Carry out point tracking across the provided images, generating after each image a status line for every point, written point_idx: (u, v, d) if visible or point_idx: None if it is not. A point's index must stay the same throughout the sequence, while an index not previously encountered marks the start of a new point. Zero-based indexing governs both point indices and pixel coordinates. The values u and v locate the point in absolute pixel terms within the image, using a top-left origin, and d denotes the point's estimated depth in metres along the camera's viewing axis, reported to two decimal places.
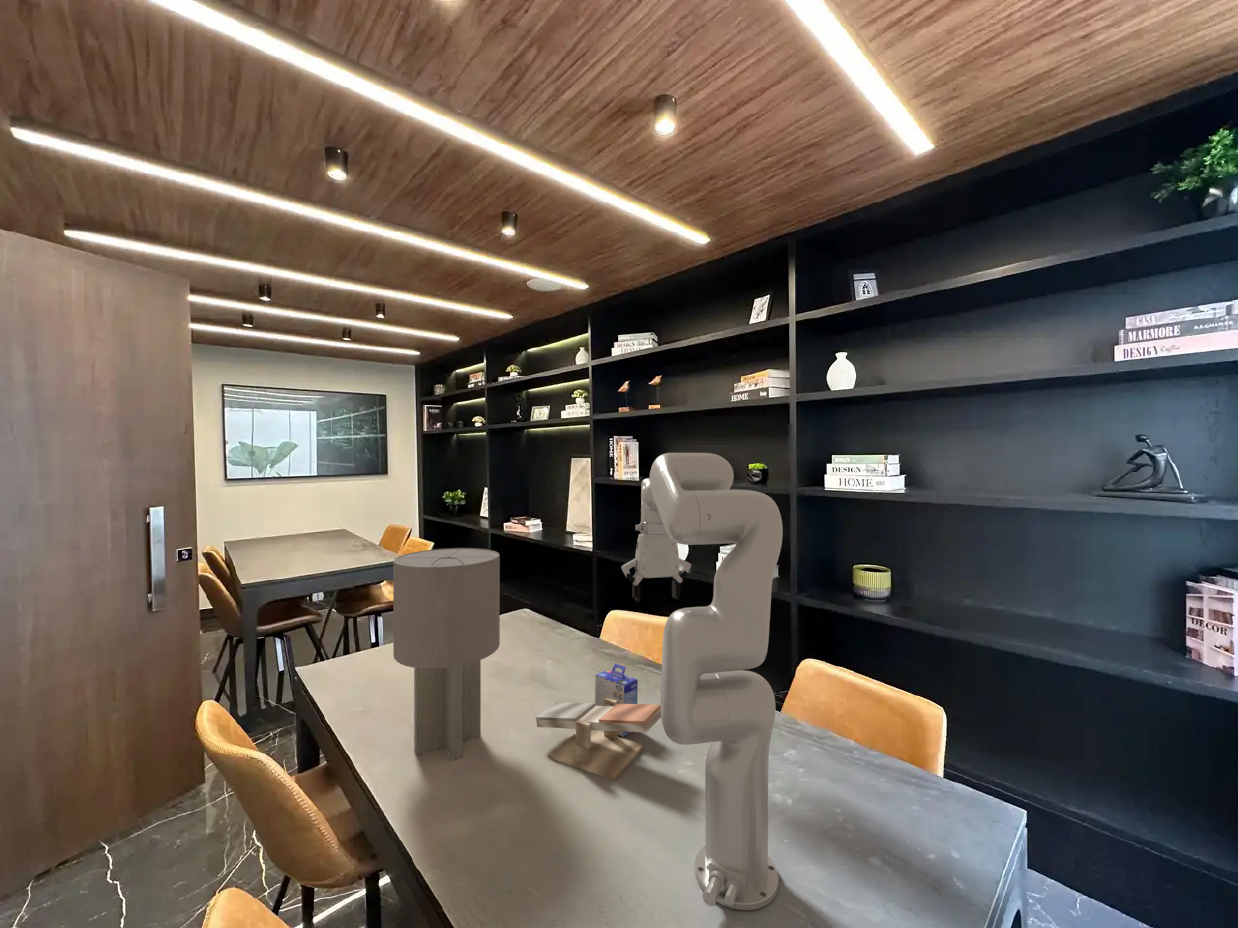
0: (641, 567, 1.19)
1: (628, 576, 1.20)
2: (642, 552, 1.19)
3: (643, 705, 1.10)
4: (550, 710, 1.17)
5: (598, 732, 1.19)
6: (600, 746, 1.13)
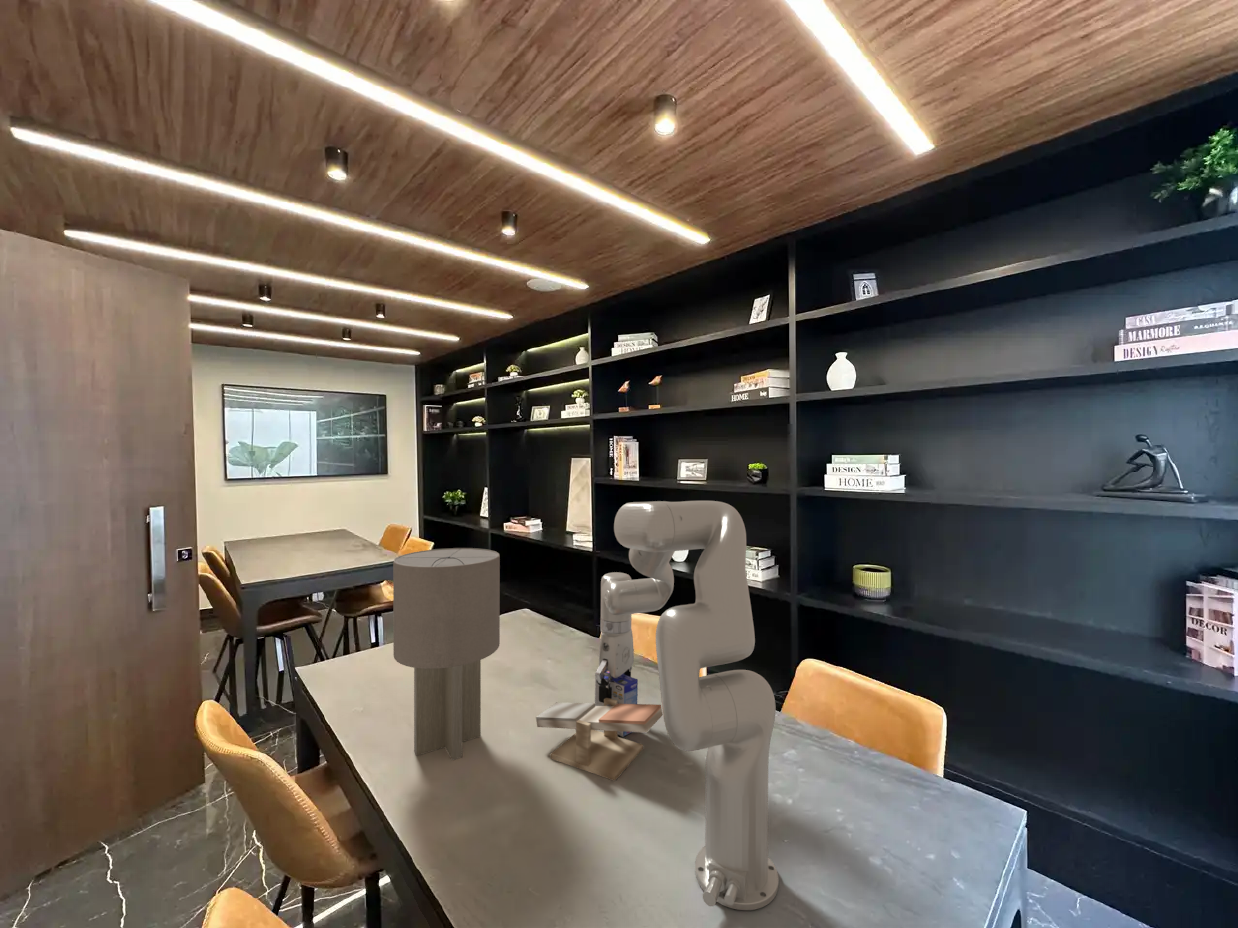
0: (615, 668, 1.19)
1: (603, 681, 1.17)
2: (616, 653, 1.19)
3: (643, 705, 1.10)
4: (550, 710, 1.17)
5: (598, 732, 1.19)
6: (600, 746, 1.13)
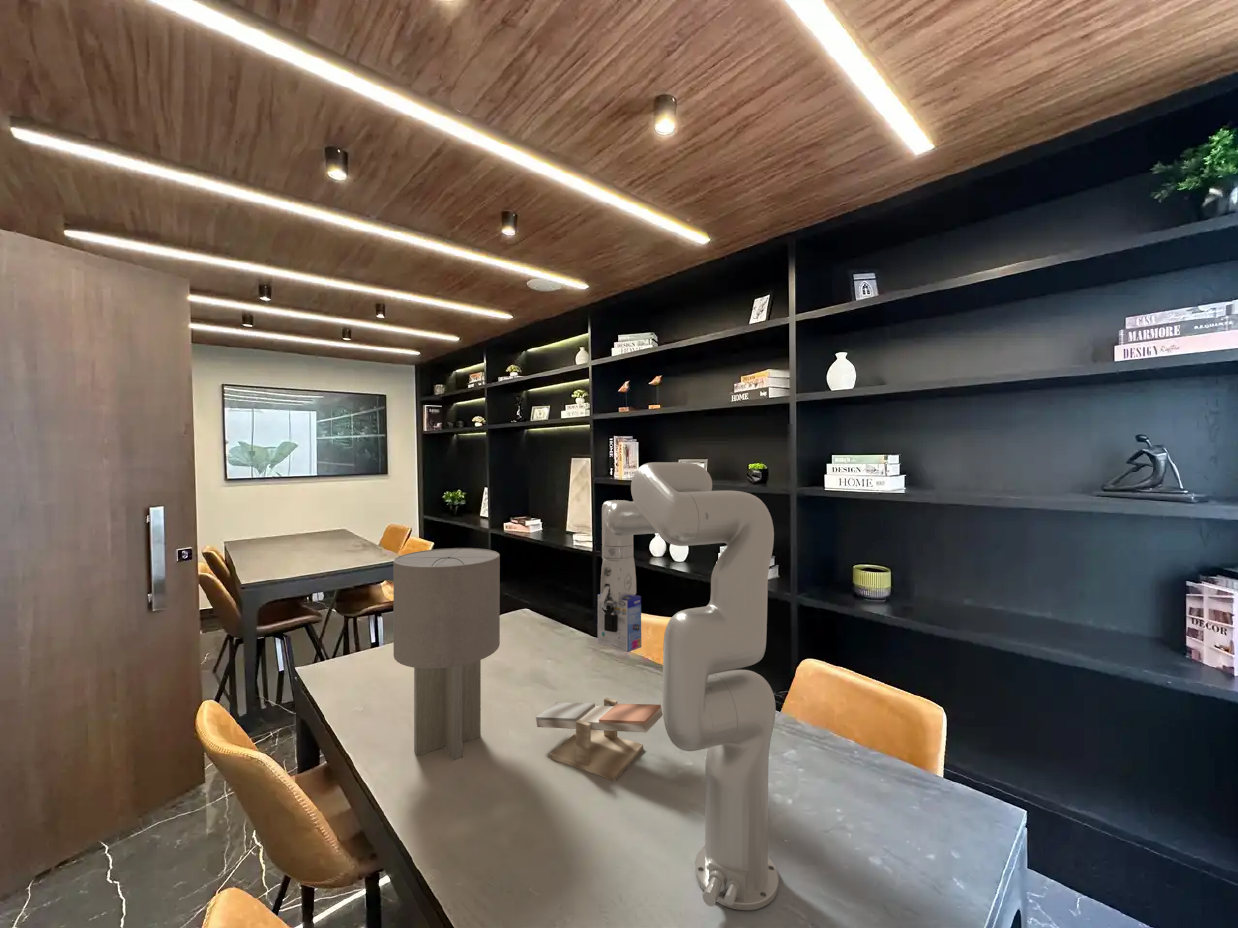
0: (618, 593, 1.16)
1: (609, 607, 1.16)
2: (618, 577, 1.17)
3: (643, 705, 1.10)
4: (550, 710, 1.17)
5: (598, 732, 1.19)
6: (600, 746, 1.13)
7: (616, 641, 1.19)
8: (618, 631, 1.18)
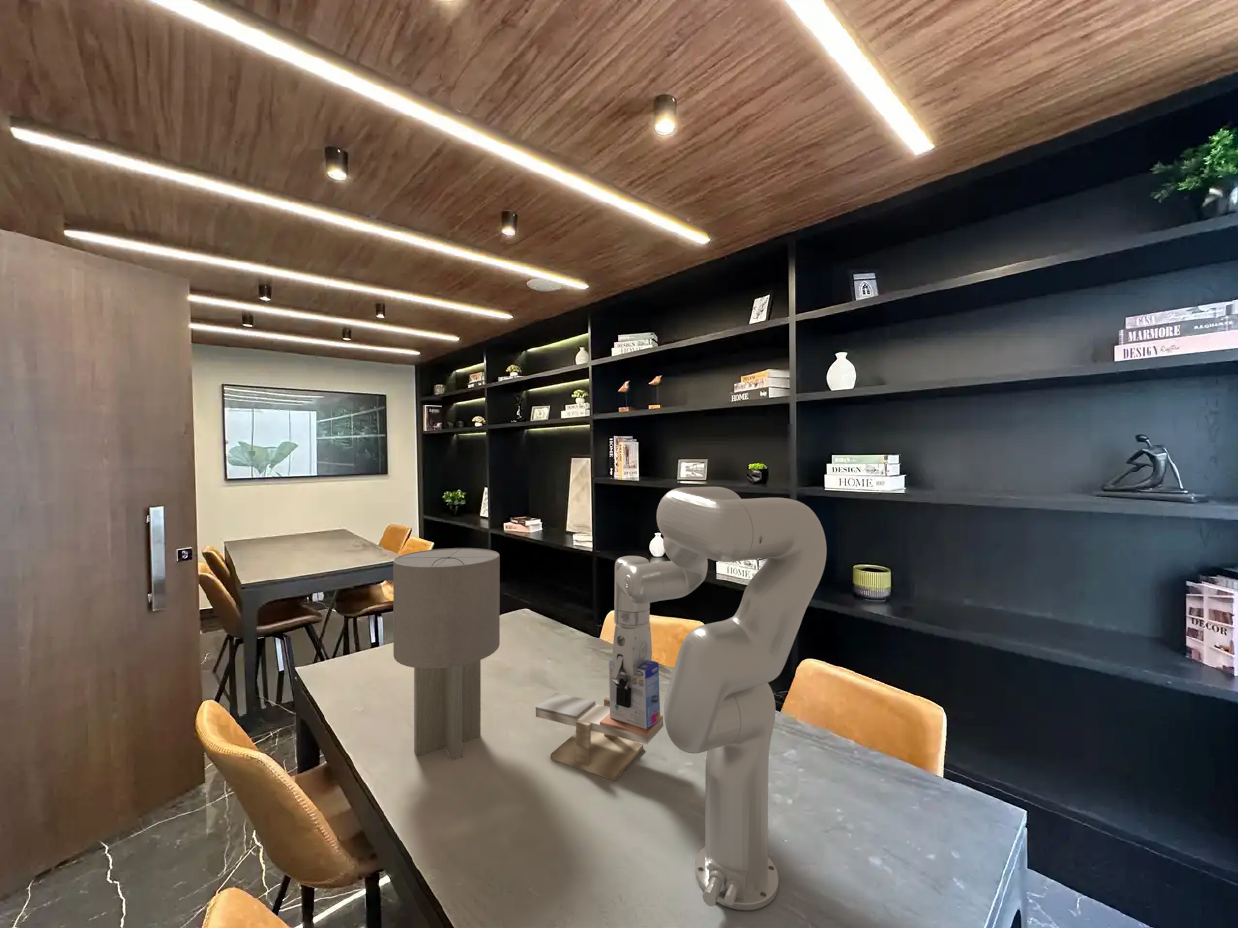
0: (632, 665, 1.03)
1: (622, 682, 1.03)
2: (632, 648, 1.03)
3: None
4: (550, 701, 1.17)
5: (598, 732, 1.19)
6: (600, 746, 1.13)
7: (632, 716, 1.05)
8: (634, 704, 1.05)
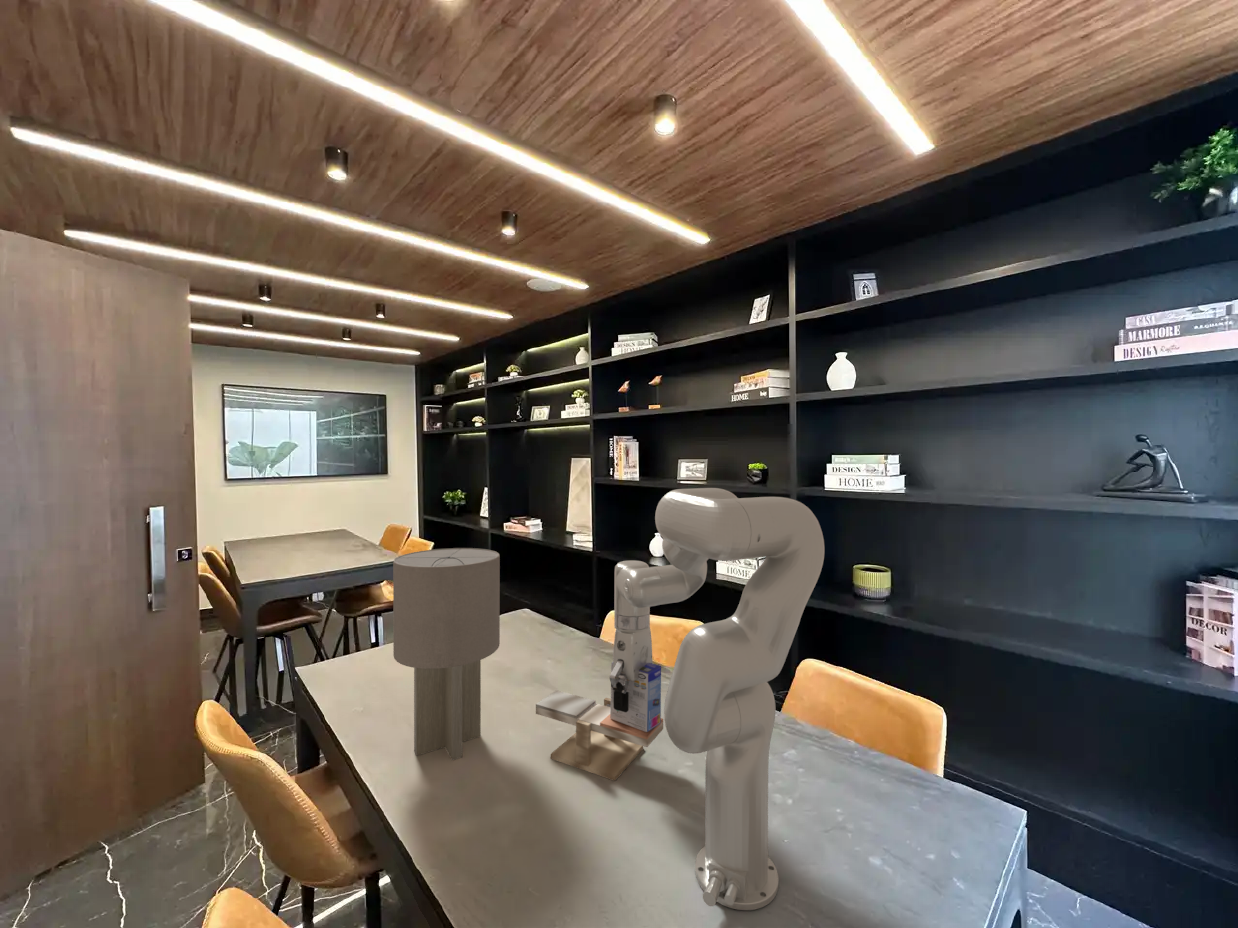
0: (633, 670, 1.03)
1: (619, 685, 1.01)
2: (633, 653, 1.03)
3: None
4: (551, 699, 1.17)
5: None
6: (600, 746, 1.13)
7: (633, 718, 1.05)
8: (635, 707, 1.05)
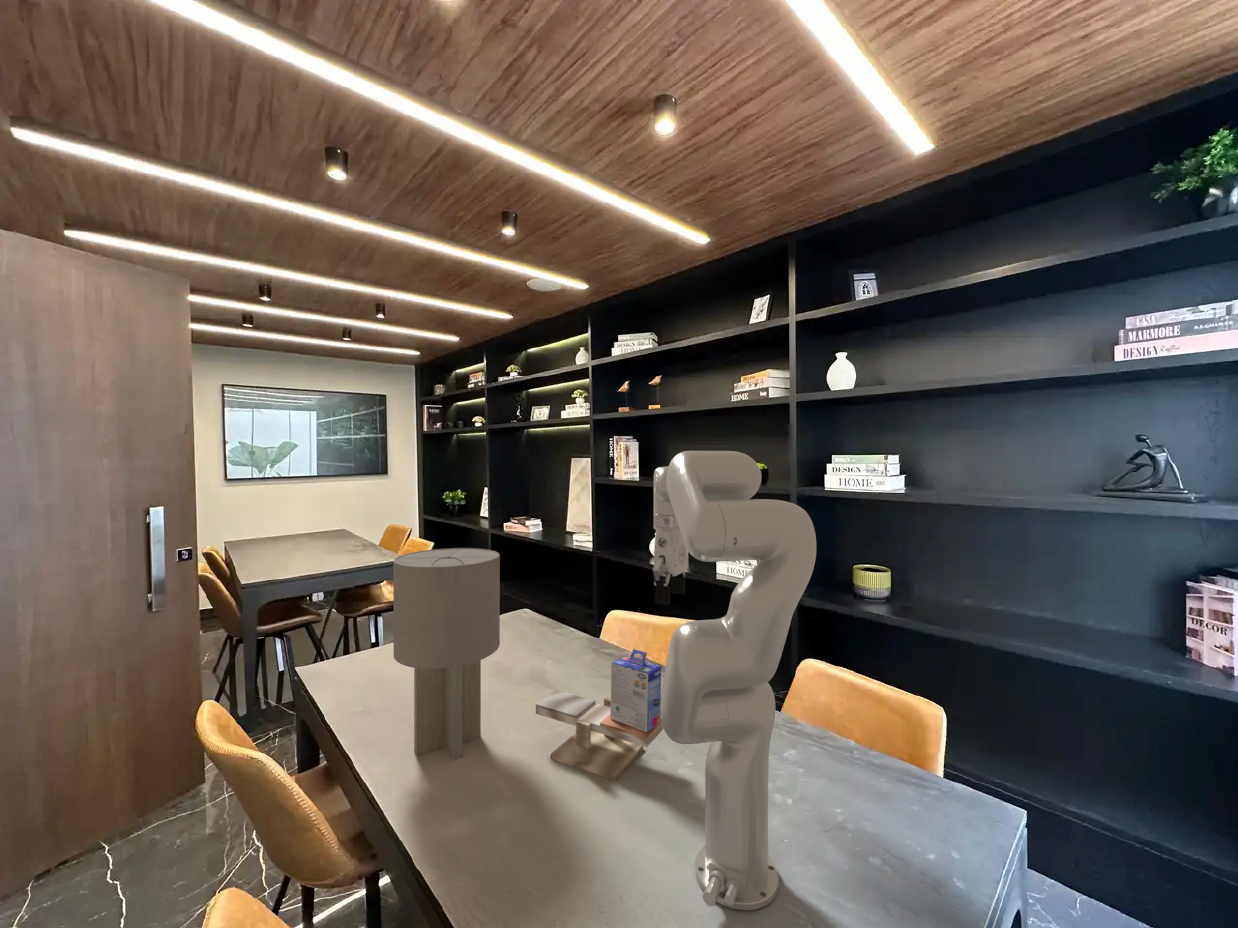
0: (674, 565, 1.08)
1: (662, 578, 1.06)
2: (674, 548, 1.08)
3: None
4: (551, 699, 1.17)
5: None
6: (600, 746, 1.13)
7: (633, 718, 1.05)
8: (635, 707, 1.05)
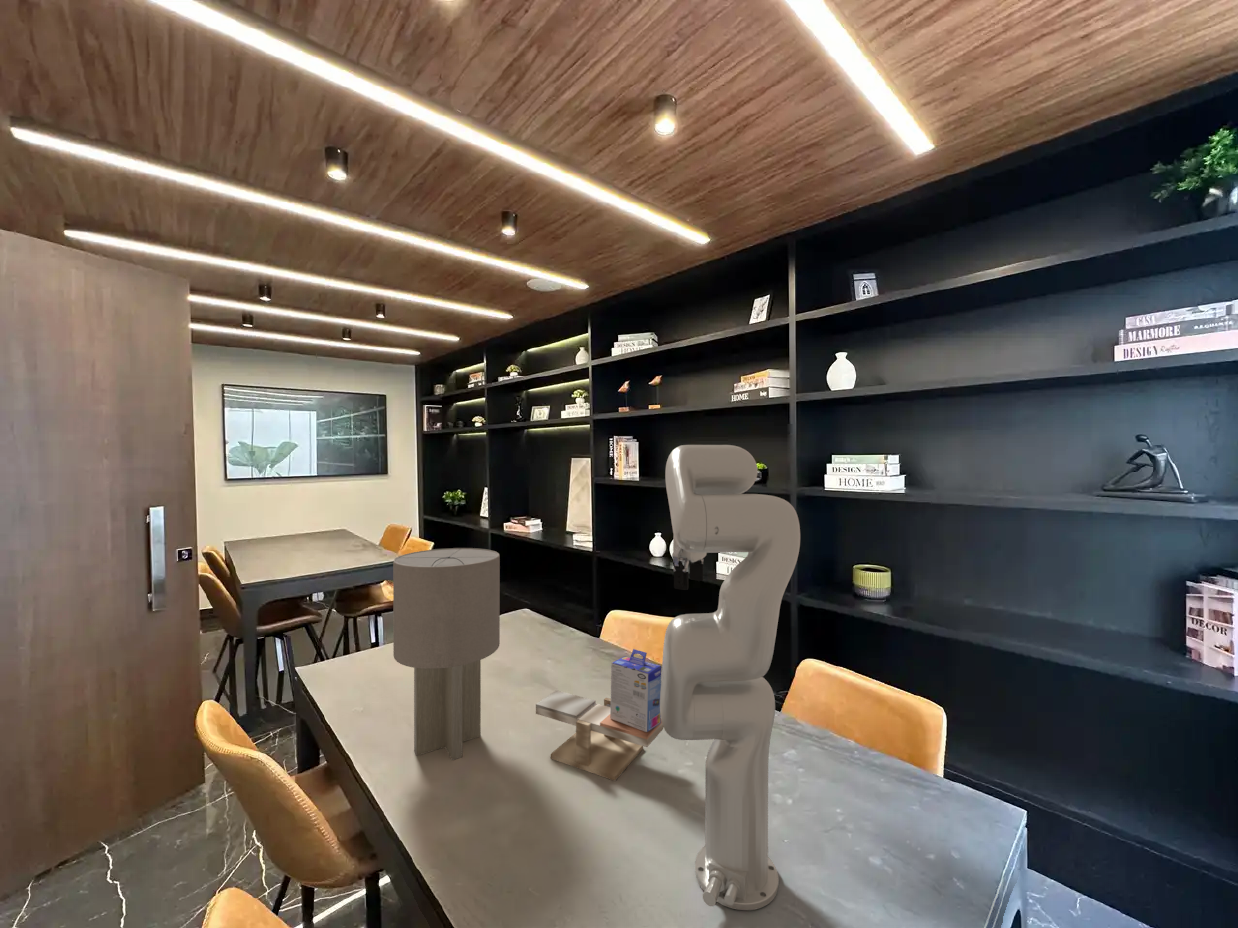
0: (692, 551, 1.11)
1: (681, 563, 1.10)
2: None
3: None
4: (551, 699, 1.17)
5: None
6: (600, 746, 1.13)
7: (633, 718, 1.05)
8: (635, 707, 1.05)
